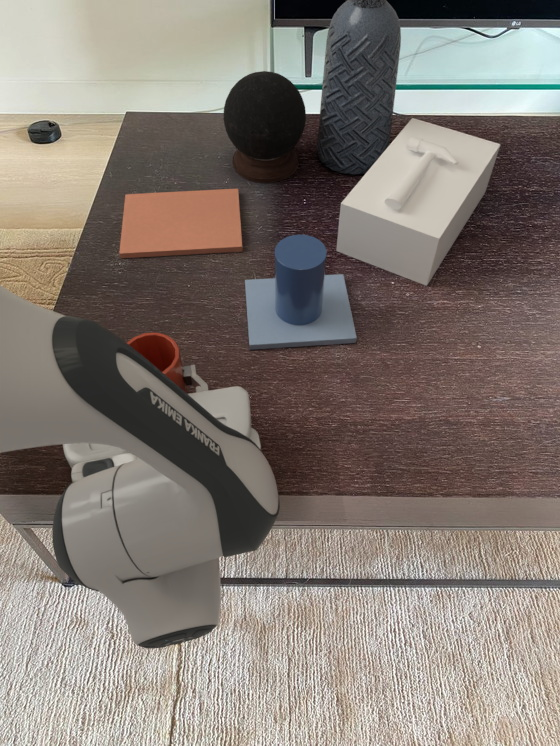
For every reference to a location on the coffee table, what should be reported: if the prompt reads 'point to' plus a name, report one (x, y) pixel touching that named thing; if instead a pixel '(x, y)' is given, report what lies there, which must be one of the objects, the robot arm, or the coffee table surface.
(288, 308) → the navy blue cylinder
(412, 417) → the coffee table surface
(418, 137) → the hammer relief block
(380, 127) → the vase
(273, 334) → the blue mat
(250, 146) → the black ball on stand
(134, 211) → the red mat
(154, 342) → the terracotta cup
